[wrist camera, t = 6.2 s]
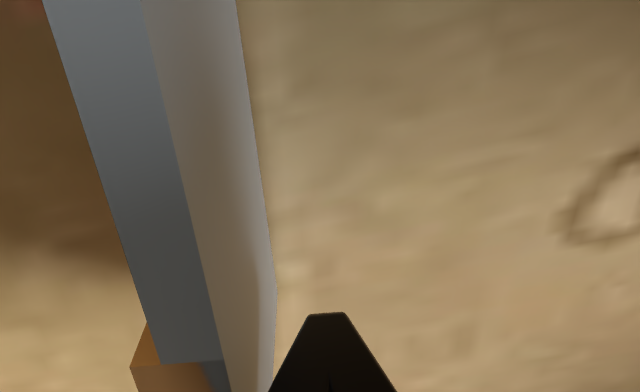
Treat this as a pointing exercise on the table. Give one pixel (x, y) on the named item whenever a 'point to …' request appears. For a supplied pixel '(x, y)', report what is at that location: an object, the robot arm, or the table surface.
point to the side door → (178, 182)
